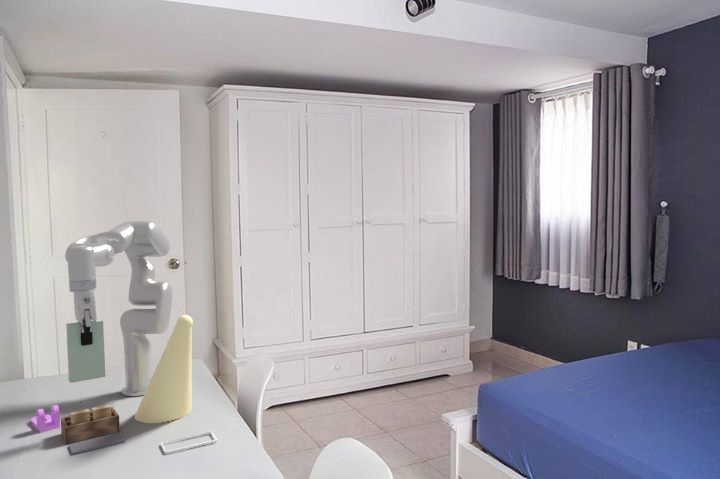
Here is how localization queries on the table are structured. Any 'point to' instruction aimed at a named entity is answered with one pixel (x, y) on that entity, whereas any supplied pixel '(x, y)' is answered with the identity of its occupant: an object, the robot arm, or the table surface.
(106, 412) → the oak offcut
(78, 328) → the green board
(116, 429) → the walnut rack
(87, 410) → the oak offcut
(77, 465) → the table surface
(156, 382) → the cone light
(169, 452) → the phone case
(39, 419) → the bracket
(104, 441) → the charcoal mat
